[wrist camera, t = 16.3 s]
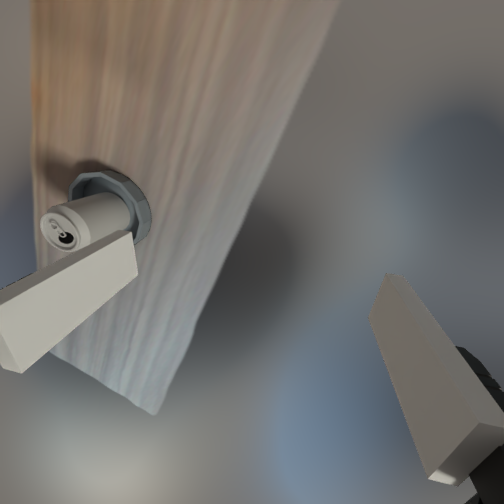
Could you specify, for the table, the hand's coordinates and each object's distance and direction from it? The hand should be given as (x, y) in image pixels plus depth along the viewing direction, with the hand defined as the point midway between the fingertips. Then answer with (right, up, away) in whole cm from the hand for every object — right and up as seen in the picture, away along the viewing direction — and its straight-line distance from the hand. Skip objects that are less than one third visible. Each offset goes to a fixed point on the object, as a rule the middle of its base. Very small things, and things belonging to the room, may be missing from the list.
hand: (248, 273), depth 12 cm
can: (-26, +9, +33) cm, 43 cm away
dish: (-26, +9, +33) cm, 43 cm away
